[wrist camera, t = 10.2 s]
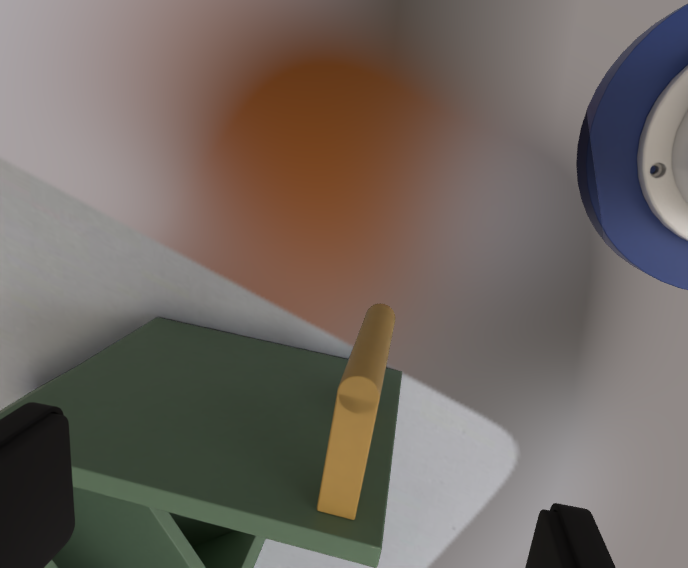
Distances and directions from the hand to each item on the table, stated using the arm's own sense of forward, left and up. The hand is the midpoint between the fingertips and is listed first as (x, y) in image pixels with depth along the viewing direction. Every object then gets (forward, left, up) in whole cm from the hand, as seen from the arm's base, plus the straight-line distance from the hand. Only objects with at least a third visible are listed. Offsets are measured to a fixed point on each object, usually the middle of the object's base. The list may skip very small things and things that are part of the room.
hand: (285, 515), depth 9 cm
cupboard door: (+8, +2, -23) cm, 25 cm away
